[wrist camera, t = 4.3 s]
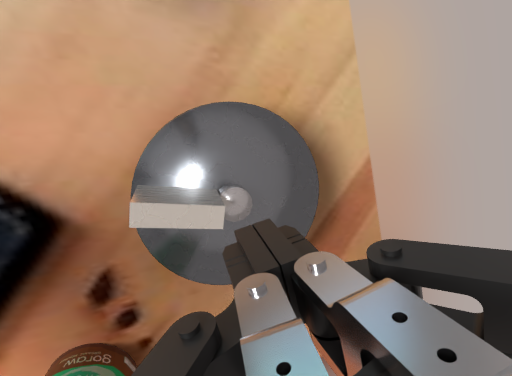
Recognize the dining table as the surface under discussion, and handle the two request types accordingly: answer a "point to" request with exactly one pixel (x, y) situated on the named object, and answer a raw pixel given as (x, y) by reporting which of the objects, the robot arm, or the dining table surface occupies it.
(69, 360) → the food container
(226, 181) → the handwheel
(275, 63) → the dining table surface
